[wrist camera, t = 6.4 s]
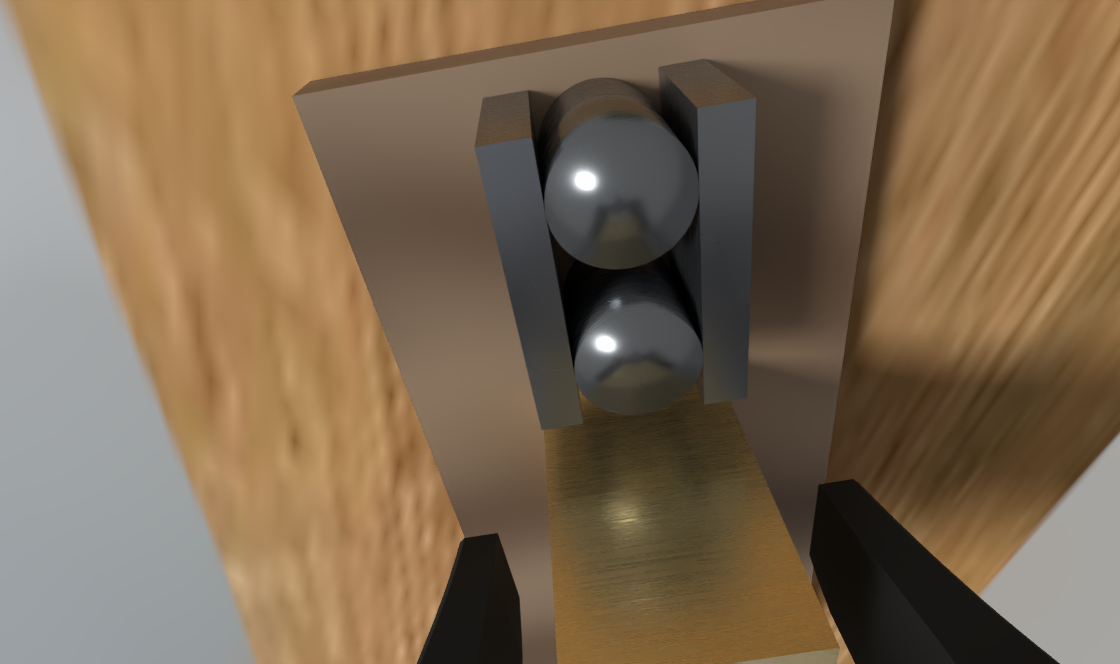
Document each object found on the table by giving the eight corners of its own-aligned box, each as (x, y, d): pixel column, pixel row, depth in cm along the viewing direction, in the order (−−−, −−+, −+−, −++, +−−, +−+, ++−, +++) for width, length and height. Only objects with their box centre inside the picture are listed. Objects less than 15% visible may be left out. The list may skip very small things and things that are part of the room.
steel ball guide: (713, 587, 17) (739, 675, 15) (593, 605, 17) (604, 694, 15) (704, 58, 9) (756, 97, 7) (483, 98, 9) (474, 147, 7)
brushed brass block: (713, 486, 15) (828, 822, 9) (569, 507, 15) (602, 851, 9) (710, 355, 12) (862, 700, 7) (541, 383, 13) (561, 741, 7)
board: (784, 668, 22) (794, 698, 21) (540, 703, 22) (541, 733, 22) (863, -19, 10) (896, -13, 9) (310, 81, 10) (291, 96, 9)
